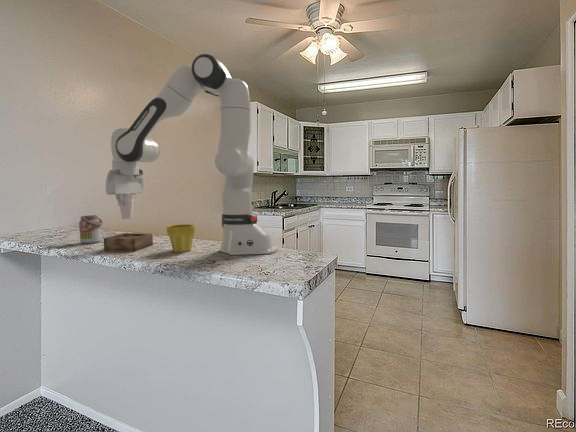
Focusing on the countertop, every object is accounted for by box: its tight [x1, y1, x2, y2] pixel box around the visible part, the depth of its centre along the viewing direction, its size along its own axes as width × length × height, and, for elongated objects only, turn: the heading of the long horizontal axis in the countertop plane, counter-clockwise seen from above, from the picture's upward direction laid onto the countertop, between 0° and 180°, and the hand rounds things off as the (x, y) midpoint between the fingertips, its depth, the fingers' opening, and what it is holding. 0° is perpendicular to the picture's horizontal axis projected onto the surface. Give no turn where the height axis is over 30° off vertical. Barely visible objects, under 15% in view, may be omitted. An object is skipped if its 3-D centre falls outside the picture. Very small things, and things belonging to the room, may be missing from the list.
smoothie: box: [119, 194, 135, 220], centre depth 131 cm, size 6×6×14 cm
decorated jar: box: [78, 214, 104, 245], centre depth 145 cm, size 9×8×12 cm
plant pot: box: [166, 223, 196, 253], centre depth 127 cm, size 10×10×10 cm
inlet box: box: [102, 232, 154, 252], centre depth 133 cm, size 13×13×5 cm
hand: (126, 205), depth 132 cm, fingers closed on smoothie, 5 cm apart
